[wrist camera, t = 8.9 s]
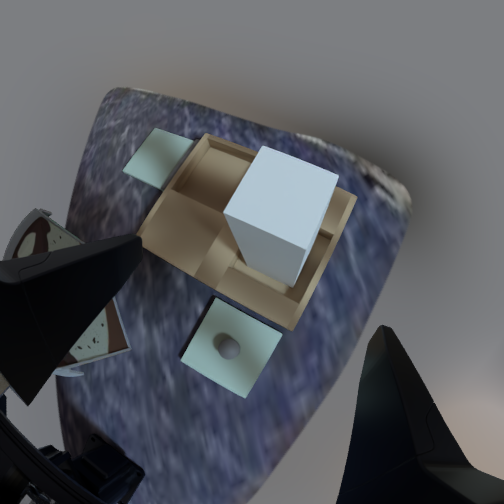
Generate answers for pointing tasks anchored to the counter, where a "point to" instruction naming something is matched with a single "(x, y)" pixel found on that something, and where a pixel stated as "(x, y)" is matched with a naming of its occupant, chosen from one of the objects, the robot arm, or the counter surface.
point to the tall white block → (279, 213)
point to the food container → (106, 323)
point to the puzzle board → (223, 252)
